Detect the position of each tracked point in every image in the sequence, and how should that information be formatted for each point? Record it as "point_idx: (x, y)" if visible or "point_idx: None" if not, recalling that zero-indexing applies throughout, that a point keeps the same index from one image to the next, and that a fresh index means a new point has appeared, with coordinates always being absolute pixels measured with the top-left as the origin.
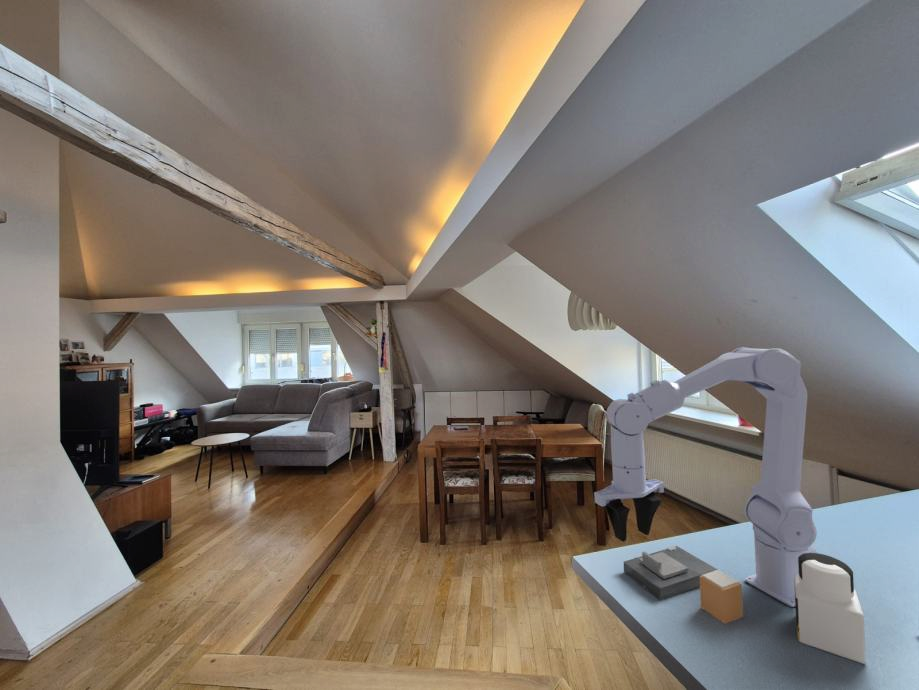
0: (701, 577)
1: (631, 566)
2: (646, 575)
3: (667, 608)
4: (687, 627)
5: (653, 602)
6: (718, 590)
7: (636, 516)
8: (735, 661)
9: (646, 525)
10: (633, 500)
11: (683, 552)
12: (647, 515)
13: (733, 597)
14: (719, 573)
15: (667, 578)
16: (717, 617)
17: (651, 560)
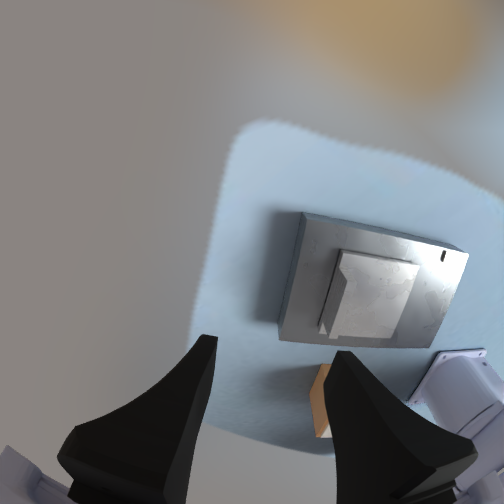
0: None
1: (304, 249)
2: (299, 297)
3: (267, 341)
4: (251, 376)
5: (259, 319)
6: (317, 428)
7: (361, 385)
8: (246, 420)
9: (331, 416)
10: (398, 442)
11: (452, 280)
12: (340, 457)
13: None
14: None
15: None
16: (313, 387)
17: (334, 311)
